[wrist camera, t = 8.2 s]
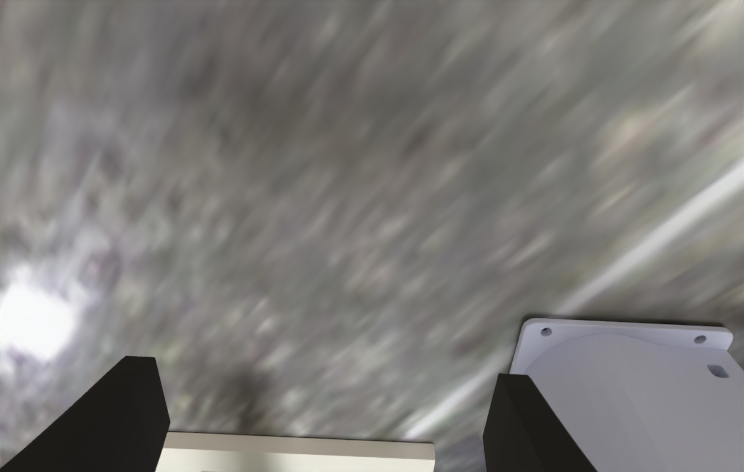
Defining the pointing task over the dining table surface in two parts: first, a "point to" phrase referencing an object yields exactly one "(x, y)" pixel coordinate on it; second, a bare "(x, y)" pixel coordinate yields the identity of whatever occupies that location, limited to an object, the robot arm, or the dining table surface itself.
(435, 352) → the dining table surface
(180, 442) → the stand
